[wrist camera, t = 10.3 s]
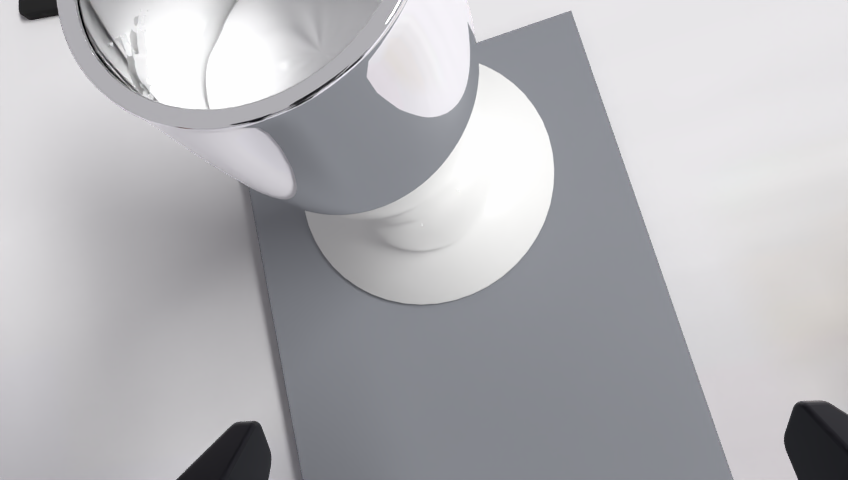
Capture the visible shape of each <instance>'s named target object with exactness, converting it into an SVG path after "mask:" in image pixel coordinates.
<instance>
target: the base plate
mask: <svg viewBox="0 0 848 480" xmlns="http://www.w3.org/2000/svg"><path fill="white" fill-rule="evenodd" d="M476 45H477V52H478V60H479V96H478V111H477V118H476V124H475V132H476V133H477V134H478V136H479V137H480V139H481V140H482V142H483V143H484V145H485V147H486V149H487V152H488V154H489V157H490V160H491V165H492V173H493V180H492V189H491V194H490V198H489V201H488V204H487V206H486V209H485V211H484V213H483V214H482V216H481V218H480V219H479V220H478V222H477V223H476V224H475V225H474V227H473V228H472V229H471V230H470V231H469V232H468V233H466V234H465V235H464V236H463V237H461V238H460V239H458V240H457V241H455V242H453V243H451V244H449V245H447V246H444V247H442V248H438V249H435V250H430V251H408V250H403V249H399V248H396V247H393V246H391V245H389V244H387V243H385V242H383V241H382V240H380V239H379V238H377V237H376V236H375V235H374V234H372V233H371V232H370V231H369V230H368V229H367V227H366V226H365V225H364V224H363V222H362V221H361V220H353V219H343V218H336V217H331V216H327V215H322V214H318V213H313V212H309V211H305V210H301V209H298V208H295V207H293V206H290V205H288V204H285V203H283V202H281V201H278V200H276V199H274V198H271V197H269V196H266V195H264V194H262V193H260V192H258V191H256V190H254V189H252V188H250V187H249V190H250V196H251V201H252V207H253V212H254V218H255V223H256V228H257V234H258V239H259V245H260V250H261V256H262V261H263V266H264V272H265V277H266V283H267V288H268V294H269V299H270V304H271V310H272V315H273V321H274V326H275V332H276V337H277V342H278V348H279V353H280V359H281V364H282V370H283V375H284V380H285V386H286V391H287V397H288V402H289V408H290V413H291V418H292V424H293V429H294V435H295V440H296V446H297V451H298V456H299V462H300V467H301V473H302V478H303V480H733V477H732V474H731V471H730V468H729V465H728V463H727V460H726V457H725V454H724V451H723V448H722V445H721V442H720V439H719V437H718V434H717V431H716V428H715V425H714V422H713V419H712V416H711V413H710V411H709V408H708V405H707V402H706V399H705V396H704V393H703V390H702V387H701V385H700V382H699V379H698V376H697V373H696V370H695V367H694V364H693V362H692V359H691V356H690V353H689V350H688V347H687V344H686V341H685V338H684V336H683V333H682V330H681V327H680V324H679V321H678V318H677V315H676V312H675V310H674V307H673V304H672V301H671V298H670V295H669V292H668V289H667V286H666V284H665V281H664V278H663V275H662V272H661V269H660V266H659V263H658V260H657V258H656V255H655V252H654V249H653V246H652V243H651V240H650V237H649V234H648V232H647V229H646V226H645V223H644V220H643V217H642V214H641V211H640V208H639V206H638V203H637V200H636V197H635V194H634V191H633V188H632V185H631V183H630V180H629V177H628V174H627V171H626V168H625V165H624V162H623V159H622V157H621V154H620V151H619V148H618V145H617V142H616V139H615V136H614V133H613V131H612V128H611V125H610V122H609V119H608V116H607V113H606V110H605V107H604V105H603V102H602V99H601V96H600V93H599V90H598V87H597V84H596V81H595V79H594V76H593V73H592V70H591V67H590V64H589V61H588V58H587V55H586V53H585V50H584V47H583V44H582V41H581V38H580V35H579V32H578V29H577V27H576V24H575V21H574V18H573V15H572V12H571V11H569V12H566V13H563V14H560V15H557V16H554V17H551V18H548V19H545V20H542V21H540V22H537V23H534V24H531V25H528V26H525V27H522V28H519V29H516V30H513V31H510V32H507V33H504V34H502V35H499V36H496V37H493V38H490V39H487V40H484V41H481V42H478V43H476Z"/></svg>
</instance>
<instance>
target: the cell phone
mask: <svg viewBox="0 0 848 480" xmlns="http://www.w3.org/2000/svg"><path fill="white" fill-rule="evenodd" d="M19 12H20V14H21V15H23V16H24V17H26V18H28V19H30V20H33V19H39V18H45V17H50V16H56V15H59V13H58V7H57V0H19Z"/></svg>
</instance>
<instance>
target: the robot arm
mask: <svg viewBox="0 0 848 480" xmlns="http://www.w3.org/2000/svg"><path fill="white" fill-rule="evenodd" d="M784 444H785V448H786V451H787V454H788V456H789V459H790V461H791V463H792V466H793V468H794V471H795V473H796V475H797V478H798V480H848V414H846V413H845V412H843V411H841V410H840V409H838V408H837V407H835V406H834V405H832V404H830V403H828V402H826V401H800V402H798V403H796V404H795V405H794V407H793V410H792V413H791V416H790V419H789V422H788V425H787V428H786V431H785V435H784ZM270 467H271V452H270V449H269V446H268V443H267V440H266V438H265V435H264V432H263V430H262V427H261V425H260V424H259V423H258V422H256V421H246V422H236V423H234V424H233V425H232V426H230V427H229V428H228V429H227V430H226V431H225V432H224V433H223V434H222V435H221V436H220V437H219V438H218V439H217V440H216V441H215V442H214V443H213V444H212V445H211V446H210V447H209V448H208V449H207V450H206V451H205V452H204V453H203V454H202V455H201V456H200V457H199V458H198V459H197V460H196V461H195V462H194V463H193V464H192V465H191V466H190V467H189V468H188V469H187V470H186V471H185V472H184V473H183V474H182V475H181V476H180V477H179V478H177V479H176V480H268V478H269V472H270Z"/></svg>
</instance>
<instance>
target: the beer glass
mask: <svg viewBox="0 0 848 480" xmlns="http://www.w3.org/2000/svg"><path fill="white" fill-rule="evenodd" d="M57 7H58V13H59V18H60V23H61V26H62V30H63V33H64V36H65V39H66V41H67V44H68V46H69V49H70V51H71V53H72V55H73V57H74V59H75V60H76V62H77V64H78V65H79V67H80V68H81V70H82V71H83V73H84V74H85V75H86V77H87V78H88V79H89V81H90V82H91V83H92V84H93V85H94V86H95V87H96V88H97V89H98V90H99V91H100V92H101V93H102V94H103V95H104V96H106V97H107V98H108V99H109V100H110V101H112V102H113V103H114V104H116V105H117V106H119V107H120V108H122V109H123V110H125V111H127V112H129V113H131V114H132V115H134V116H136V117H139V118H141V119H143V120H145V121H146V122H148V123H149V124H151V125H152V126H154V127H156V128H157V129H158V130H160V131H161V132H163V133H164V134H166V135H167V136H169V137H170V138H171V139H173V140H174V141H176V142H177V143H179V144H180V145H182V146H183V147H184V148H186V149H187V150H189V151H191V152H192V153H194V154H195V155H197V156H198V157H200V158H201V159H203V160H204V161H206V162H207V163H209V164H210V165H212V166H214V167H215V168H217V169H218V170H220V171H222V172H223V173H225V174H227V175H229V176H230V177H232V178H234V179H236V180H238V181H239V182H241V183H243V184H245V185H246V186H248V187H250V188H252V189H254V190H256V191H258V192H260V193H262V194H264V195H266V196H269V197H271V198H274V199H276V200H278V201H281V202H283V203H285V204H288V205H290V206H293V207H295V208H298V209H301V210H305V211H309V212H313V213H318V214H322V215H327V216H331V217H336V218H343V219H353V220H361V221H362V222H363V224H364V225H365V226H366V227H367V229H368V230H369V231H370V232H371V233H372V234H374V235H375V236H376V237H377V238H379V239H380V240H382V241H383V242H385V243H387V244H389V245H391V246H393V247H396V248H399V249H403V250H408V251H430V250H435V249H438V248H442V247H444V246H447V245H449V244H451V243H453V242H455V241H457V240H458V239H460V238H461V237H463V236H464V235H465V234H466V233H468V232H469V231H470V230H471V229H472V228H473V227H474V225H475V224H476V223H477V222H478V220H479V219H480V218H481V216H482V214H483V213H484V211H485V209H486V206H487V204H488V201H489V198H490V194H491V189H492V180H493V173H492V165H491V160H490V157H489V154H488V152H487V149H486V147H485V145H484V143H483V142H482V140H481V139H480V137H479V136H478V134H477V133H476V132H475V124H476V118H477V111H478V96H479V60H478V52H477V45H476V39H475V32H474V25H473V20H472V15H471V11H470V7H469V3H468V0H57Z"/></svg>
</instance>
